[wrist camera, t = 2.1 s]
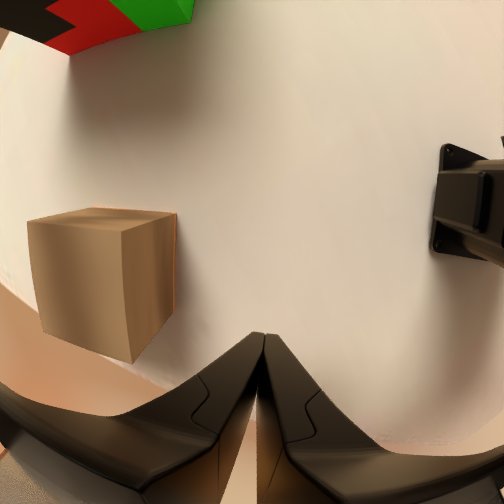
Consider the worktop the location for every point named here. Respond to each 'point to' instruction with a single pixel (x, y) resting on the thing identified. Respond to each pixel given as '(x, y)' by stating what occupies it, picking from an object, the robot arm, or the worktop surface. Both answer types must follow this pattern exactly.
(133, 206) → the worktop surface
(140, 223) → the walnut cube
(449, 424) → the worktop surface
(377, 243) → the worktop surface
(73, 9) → the puzzle toy
